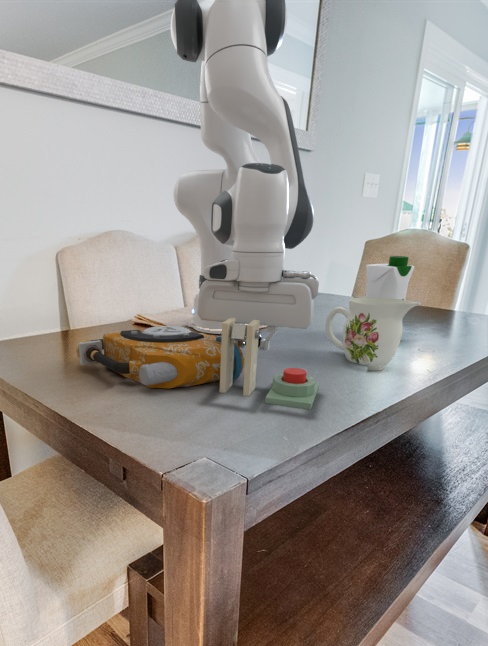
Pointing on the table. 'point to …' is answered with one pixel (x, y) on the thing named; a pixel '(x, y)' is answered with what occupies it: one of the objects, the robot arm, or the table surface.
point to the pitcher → (370, 329)
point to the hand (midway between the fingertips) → (251, 348)
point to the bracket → (228, 356)
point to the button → (294, 375)
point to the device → (160, 356)
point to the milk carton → (389, 278)
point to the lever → (241, 333)
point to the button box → (292, 393)
